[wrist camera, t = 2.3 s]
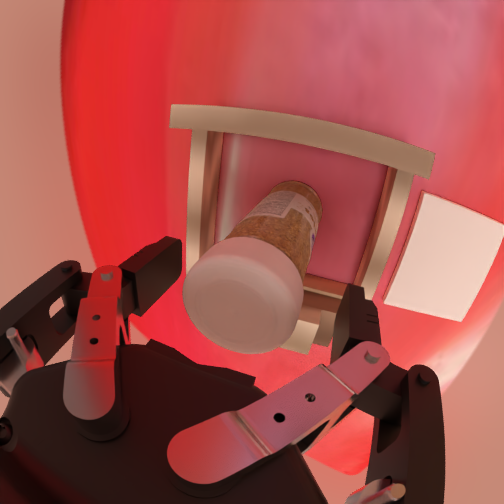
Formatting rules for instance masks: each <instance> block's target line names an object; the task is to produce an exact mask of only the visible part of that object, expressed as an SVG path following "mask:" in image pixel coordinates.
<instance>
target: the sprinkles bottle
mask: <svg viewBox="0 0 504 504" xmlns="http://www.w3.org/2000/svg"><path fill="white" fill-rule="evenodd" d="M321 217H322V204H321V201H320V199H319V197H318V195H317V193H316V192H315V191H314V190H313V189H312V188H311V187H309V186H308V185H306V184H304V183H301V182H297V181H287V182H283V183H280V184H278V185H277V186H275V187H274V188H273V189H272V190H271V192H270V193H269V194H268V196H266V197H265V198H264V199H263V200H262V201H261V202H259V203H258V204H257V205H256V206H255V207H254V208H253V209H252V210H251V211H250V212H249V213H248V214H247V215H246V216H245V217H244V218H243V219H242V220H241V221H240V222H239V223H238V224H237V225H236V227H235V228H234V229H233V231H232V232H231V233H230V234H229V235H228V236H227V237H226V238H225V239H224V240H222V241H220V242H218V243H217V244H215V245H214V246H212V247H211V248H210V249H209V250H208V251H207V252H206V253H205V254H204V255H203V256H202V257H201V258H200V259H199V260H198V261H197V262H196V263H195V264H194V265H193V267H192V268H191V269H190V270H189V272H188V274H187V275H186V278H185V280H184V284H183V302H184V306H185V309H186V311H187V313H188V315H189V317H190V319H191V321H192V322H193V324H194V325H195V326H196V327H197V329H198V330H199V331H200V332H201V333H202V334H203V335H205V336H206V337H207V338H208V339H210V340H211V341H212V342H214V343H215V344H217V345H219V346H221V347H223V348H226V349H228V350H231V351H235V352H239V353H245V354H258V353H265V352H269V351H272V350H274V349H276V348H278V347H279V346H281V345H282V344H284V343H285V342H286V341H287V340H288V339H289V338H290V336H291V335H292V333H293V331H294V329H295V327H296V324H297V321H298V318H299V314H300V311H301V307H302V302H303V295H304V290H303V280H304V277H305V273H306V270H307V266H308V264H309V261H310V258H311V253H312V249H313V245H314V241H315V238H316V234H317V230H318V224H319V222H320V220H321Z"/></svg>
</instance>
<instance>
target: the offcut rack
mask: <svg viewBox="0 0 504 504" xmlns="http://www.w3.org/2000/svg"><path fill="white" fill-rule="evenodd" d="M169 128H182V129H192V138H191V151H190V165H189V182H188V203H187V235H186V275H187V274H188V272H189V270H190V269H191V268H192V267H193V265H194V264H195V263H196V262H197V261H198V260H199V259H200V258H201V257H202V256H203V255H204V254H205V253H206V252H207V251H208V250H209V249H210V248H211V247H212V246H214V235H215V221H216V208H217V196H218V185H219V174H220V164H221V154H222V144H223V135H224V132H226V133H235V134H243V135H250V136H257V137H263V138H270V139H276V140H281V141H287V142H292V143H298V144H303V145H308V146H313V147H317V148H322V149H326V150H331V151H335V152H339V153H343V154H347V155H351V156H355V157H359V158H362V159H366V160H370V161H373V162H377V163H380V164H383V165H387V166H389V167H388V171H387V175H386V179H385V183H384V187H383V191H382V195H381V198H380V202H379V206H378V209H377V213H376V216H375V220H374V223H373V226H372V230H371V233H370V236H369V239H368V243H367V246H366V249H365V252H364V255H363V258H362V261H361V264H360V266H359V269H358V272H357V275H356V278H355V280H354V283H353V285H357V286H361V287H364V291H365V299H368V300H371V299H372V297H373V295H374V292H375V290H376V288H377V285H378V283H379V280H380V278H381V275H382V273H383V270H384V268H385V265H386V263H387V260H388V257H389V255H390V252H391V249H392V246H393V243H394V241H395V238H396V235H397V232H398V229H399V226H400V223H401V219H402V216H403V213H404V210H405V206H406V203H407V200H408V196H409V192H410V189H411V185H412V181H413V177H414V174H415V175H418V176H420V177H423V178H426V179H429V178H430V175H431V171H432V166H433V162H434V158H435V153H433V152H430V151H428V150H425V149H422V148H420V147H417V146H414V145H411V144H408V143H405V142H402V141H399V140H396V139H393V138H390V137H386V136H383V135H380V134H376V133H373V132H369V131H365V130H362V129H358V128H354V127H350V126H346V125H342V124H337V123H333V122H328V121H324V120H319V119H314V118H308V117H303V116H297V115H291V114H285V113H279V112H272V111H264V110H256V109H247V108H236V107H224V106H209V105H180V104H171V113H170V125H169ZM346 286H347V284H344V283H340V282H336V281H333V280H329V279H325V278H321V277H317V276H313V275H309V274H305V277H304V280H303V290H304V295H303V302H302V307H301V311H300V314H299V318H298V321H297V324H296V327H295V329H294V331H293V333H292V335H291V336H290V338H289V339H288V340H287V341H286V342H285V343H284V344H282V345H281V346H279V347H280V348H284V349H288V350H291V351H295V352H299V353H303V354H307V355H308V353H309V350H310V348H311V345H312V343H314V344H318V345H322V346H326V347H328V346H329V343H330V341H331V339H332V337H333V331H334V322H335V317H336V314H337V311H338V308H339V305H340V303H341V300H342V297H343V294H344V292H345V289H346Z"/></svg>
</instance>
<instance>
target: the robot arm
mask: <svg viewBox="0 0 504 504" xmlns="http://www.w3.org/2000/svg"><path fill="white" fill-rule="evenodd" d="M181 271H182V242H181V240H180V239H176V238H172V237H169V236H165V237H164V238H162V239H161V240H160V241H158V242H157V243H153V244H151V245H148V246H145V247H144V248H143V249H141V250H140V251H139V252H137V253H136V254H134V256H131V257H130V258H129V259H127V260H126V261H124V262H123V263H122V264H120V265H119V266H118V267H117V266H113V265H107V266H102V267H99V268H97V269H96V270H95V271H94V272H93V273H86V272H82V271H81V266H80V263H79V262H77V261H73V260H69V261H64V262H62V263H60V264H58V265H57V266H55V267H54V268H52V269H51V270H50V271H48V272H47V273H46V274H44V275H43V276H42V277H40V278H39V279H37V281H35V282H34V283H32V284H31V285H30V286H29V287H27V288H26V289H24V290H23V291H22V292H21V293H19V294H18V295H17V296H16V297H14V298H13V299H12V300H11V301H9V302H8V303H7V304H6V305H5V306H4V307H2V308H1V309H0V390H1V391H2V393H3V394H4V395H5V396H7V397H10V399H9V402H8V405H7V407H6V409H5V411H4V413H3V415H2V417H1V418H0V504H328V502H327V500H326V498H325V497H324V495H323V493H322V491H321V489H320V487H319V486H318V484H317V482H316V480H315V479H314V476H313V475H312V473H311V471H310V469H309V467H308V465H307V463H306V461H305V460H304V458H303V456H302V454H304V453H305V452H306V451H308V450H309V449H310V448H312V447H313V446H314V445H315V444H317V443H318V442H319V441H320V440H321V439H322V438H323V437H324V436H325V435H326V434H328V433H329V432H330V431H331V430H332V429H334V428H335V427H336V426H337V425H338V424H340V423H341V422H342V421H343V420H344V419H345V418H346V417H348V416H349V415H350V414H351V413H352V412H353V411H354V410H355V409H359V410H361V411H363V412H365V413H368V414H370V415H372V416H374V417H375V418H374V428H373V437H372V445H371V452H370V459H369V465H368V471H367V477H366V483H365V486H363V487H362V488H360V489H358V490H356V491H354V492H353V493H352V494H350V496H349V497H348V498H347V500H346V502H345V504H443V503H444V490H445V489H444V488H445V436H444V422H443V411H442V402H441V393H440V386H439V380H438V377H437V375H436V374H435V372H434V371H433V370H432V369H430V368H429V367H427V366H425V365H420V364H419V365H414V366H412V367H411V368H410V369H409V370H408V371H407V370H405V369H402V368H400V367H398V366H396V365H394V364H393V363H391V362H390V356H389V353H388V352H387V350H386V349H385V348H384V347H383V346H382V345H381V335H380V327H379V318H378V311H377V307H376V306H375V304H374V303H373V301H372V300H368V299H365V291H364V287H361V286H357V285H353V284H349V283H348V284H347V286H346V289H345V292H344V294H343V297H342V300H341V303H340V305H339V308H338V311H337V314H336V317H335V322H334V331H333V342H332V351H331V360H330V365H329V366H328V367H326V366H325V365H324V364H319V365H317V366H316V367H314V368H313V369H311V370H309V371H308V372H306V373H305V374H303V375H301V376H300V377H298V378H296V379H295V380H293V381H291V382H290V383H288V384H286V385H285V386H283V387H281V388H280V389H278V390H276V391H274V392H273V393H271V394H269V395H267V394H266V393H265V392H263V391H262V390H261V389H259V388H258V387H256V386H254V382H255V378H256V377H254V376H250V375H247V374H244V373H241V372H238V371H235V370H231V369H228V368H222V367H214V366H207V365H201V364H197V363H195V362H193V361H192V360H190V359H189V358H187V357H186V356H184V355H183V354H181V353H180V352H179V351H177V350H176V349H174V348H172V347H169V346H167V345H165V344H162V343H160V342H158V341H155V340H153V339H150V341H149V342H148V343H147V344H146V345H139V344H131V342H130V341H131V340H130V318H129V315H130V314H131V313H133V314H136V315H138V316H140V317H141V316H142V315H143V314H144V313H145V312H146V311H147V310H148V309H149V308H150V307H151V306H152V305H153V304H154V303H155V302H156V301H157V300H158V299H159V298H160V297H161V296H162V295H163V294H164V293H165V292H166V291H167V290H168V289H169V288H170V286H171V285H172V284H173V283H174V282H175V281H176V280H177V279H178V278H179V276H180V274H181ZM60 297H62V300H63V303H64V307H63V308H61V309H60V310H59V311H58V312H57V313H56V314H55V315H54V316H53V317H52V318H50V315H49V309H50V306H51V305H52V304H53V303H54V302H55V301H56V300H57V299H58V298H60ZM73 335H74V340H73V347H72V354H71V359H70V360H67V361H63V362H59V363H55V364H51V365H48V366H45V365H46V363H47V362H48V361H49V360H50V359H51V358H52V357H53V356H54V355H55V354H56V353H57V352H58V351H59V349H60V348H61V347H62V346H63V345H64V344H65V343H66V342H67V341H68V340H69V339H70V338H71V337H72V336H73Z"/></svg>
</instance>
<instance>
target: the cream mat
mask: <svg viewBox="0 0 504 504" xmlns="http://www.w3.org/2000/svg"><path fill="white" fill-rule="evenodd" d="M503 236H504V224H503V223H501V222H499V221H497V220H494V219H492V218H490V217H488V216H486V215H483V214H481V213H479V212H477V211H474V210H472V209H469V208H467V207H465V206H462V205H460V204H457V203H455V202H452V201H449V200H447V199H444V198H442V197H439V196H436V195H433V194H431V193H428V192H425V191H422V192H421V195H420V199H419V202H418V205H417V209H416V212H415V215H414V218H413V221H412V224H411V227H410V230H409V233H408V236H407V239H406V242H405V244H404V247H403V250H402V253H401V255H400V258H399V260H398V263H397V266H396V268H395V271H394V273H393V275H392V278H391V280H390V283H389V285H388V287H387V290H386V292H385V294H384V296H383V304H387V305H392V306H396V307H400V308H404V309H408V310H412V311H416V312H421V313H425V314H429V315H433V316H438V317H442V318H446V319H451V320H455V321H459V322H462V320H463V318H464V317H465V315H466V313H467V312H468V310H469V308H470V306H471V305H472V303H473V301H474V299H475V297H476V296H477V294H478V292H479V290H480V288H481V286H482V284H483V282H484V280H485V278H486V276H487V274H488V272H489V269H490V267H491V265H492V263H493V261H494V258H495V256H496V254H497V251H498V249H499V246H500V244H501V241H502V239H503Z"/></svg>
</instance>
